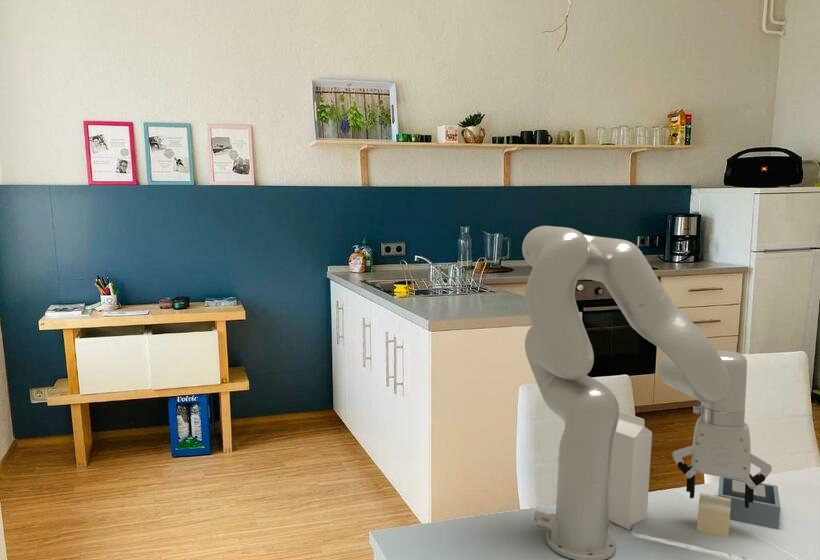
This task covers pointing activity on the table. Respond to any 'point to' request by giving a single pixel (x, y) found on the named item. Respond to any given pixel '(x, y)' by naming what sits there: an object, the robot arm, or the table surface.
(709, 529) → the beige cube
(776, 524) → the tote
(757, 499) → the block
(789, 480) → the table surface
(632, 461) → the milk
